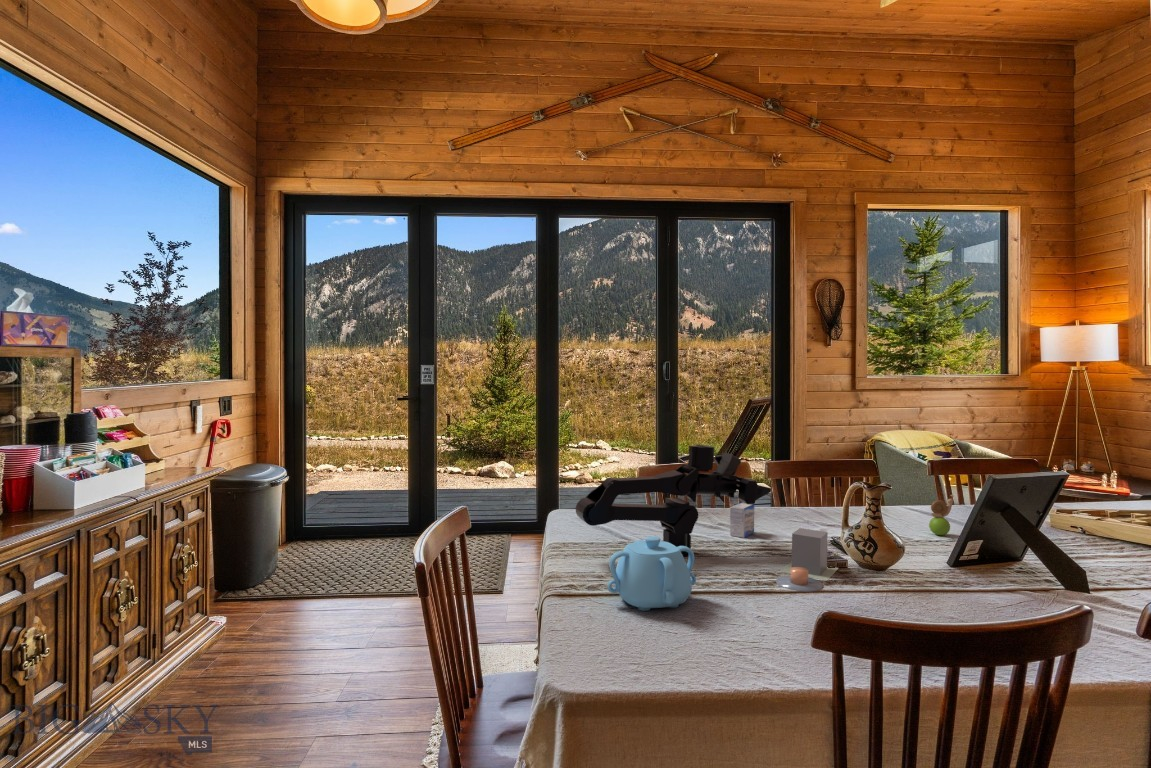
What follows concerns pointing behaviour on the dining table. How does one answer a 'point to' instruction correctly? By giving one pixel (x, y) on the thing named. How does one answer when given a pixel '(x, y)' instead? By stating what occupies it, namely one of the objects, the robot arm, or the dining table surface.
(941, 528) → the snail figurine
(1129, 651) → the dining table surface
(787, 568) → the mat
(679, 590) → the decorative pot
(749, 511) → the medicine box
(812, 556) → the grey block
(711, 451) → the robot arm
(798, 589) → the knob on round base
